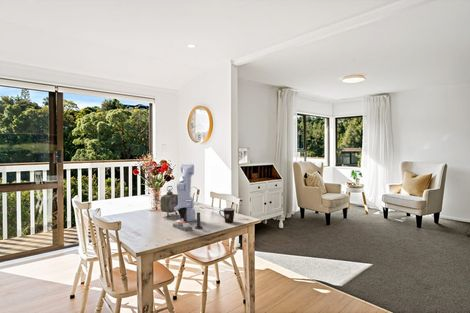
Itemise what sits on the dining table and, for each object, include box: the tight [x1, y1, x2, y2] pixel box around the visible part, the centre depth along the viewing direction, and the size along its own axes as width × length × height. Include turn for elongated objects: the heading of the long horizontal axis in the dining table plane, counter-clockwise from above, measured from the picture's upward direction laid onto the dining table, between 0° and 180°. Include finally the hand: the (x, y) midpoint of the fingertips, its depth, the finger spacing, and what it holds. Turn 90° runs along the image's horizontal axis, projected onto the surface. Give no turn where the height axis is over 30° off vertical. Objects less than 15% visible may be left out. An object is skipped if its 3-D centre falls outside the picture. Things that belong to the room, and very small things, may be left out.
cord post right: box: [194, 211, 203, 230], centre depth 201 cm, size 5×5×11 cm
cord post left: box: [183, 212, 189, 223], centre depth 213 cm, size 5×5×11 cm
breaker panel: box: [172, 219, 193, 232], centre depth 202 cm, size 6×16×4 cm, turn 44°
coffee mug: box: [218, 207, 235, 224], centre depth 217 cm, size 12×9×10 cm
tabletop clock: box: [159, 185, 178, 218], centre depth 236 cm, size 14×9×25 cm, turn 153°
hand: (182, 218), depth 202 cm, fingers closed
